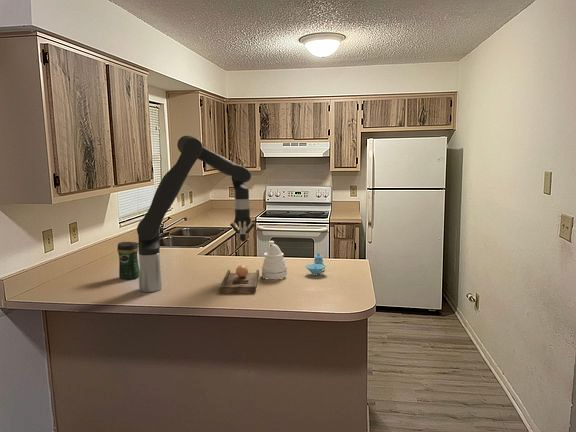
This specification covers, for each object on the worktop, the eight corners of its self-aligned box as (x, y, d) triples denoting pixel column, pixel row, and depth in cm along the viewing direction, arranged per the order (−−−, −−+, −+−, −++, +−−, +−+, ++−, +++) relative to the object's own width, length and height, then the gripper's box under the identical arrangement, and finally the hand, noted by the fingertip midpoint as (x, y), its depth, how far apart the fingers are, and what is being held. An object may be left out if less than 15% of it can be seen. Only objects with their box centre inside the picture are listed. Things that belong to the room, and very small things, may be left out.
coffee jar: (142, 275, 227) (140, 240, 224) (134, 280, 219) (131, 243, 216) (125, 274, 229) (123, 240, 226) (116, 279, 221) (114, 243, 218)
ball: (235, 279, 214) (235, 267, 213) (236, 275, 220) (236, 263, 219) (247, 278, 214) (247, 266, 213) (248, 275, 220) (248, 263, 219)
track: (220, 293, 197) (220, 286, 197) (228, 275, 225) (227, 270, 225) (255, 292, 198) (255, 286, 197) (259, 275, 225) (259, 269, 225)
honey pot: (256, 276, 223) (256, 242, 220) (274, 271, 232) (274, 238, 230) (274, 281, 214) (274, 245, 212) (292, 276, 224) (292, 241, 221)
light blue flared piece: (324, 278, 220) (324, 260, 218) (303, 277, 222) (303, 259, 221) (329, 268, 237) (329, 252, 236) (310, 267, 239) (310, 251, 238)
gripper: (228, 208, 218) (229, 242, 221) (254, 208, 218) (255, 242, 221) (230, 206, 226) (231, 239, 228) (255, 206, 226) (256, 239, 228)
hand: (243, 241), depth 225 cm, fingers closed
